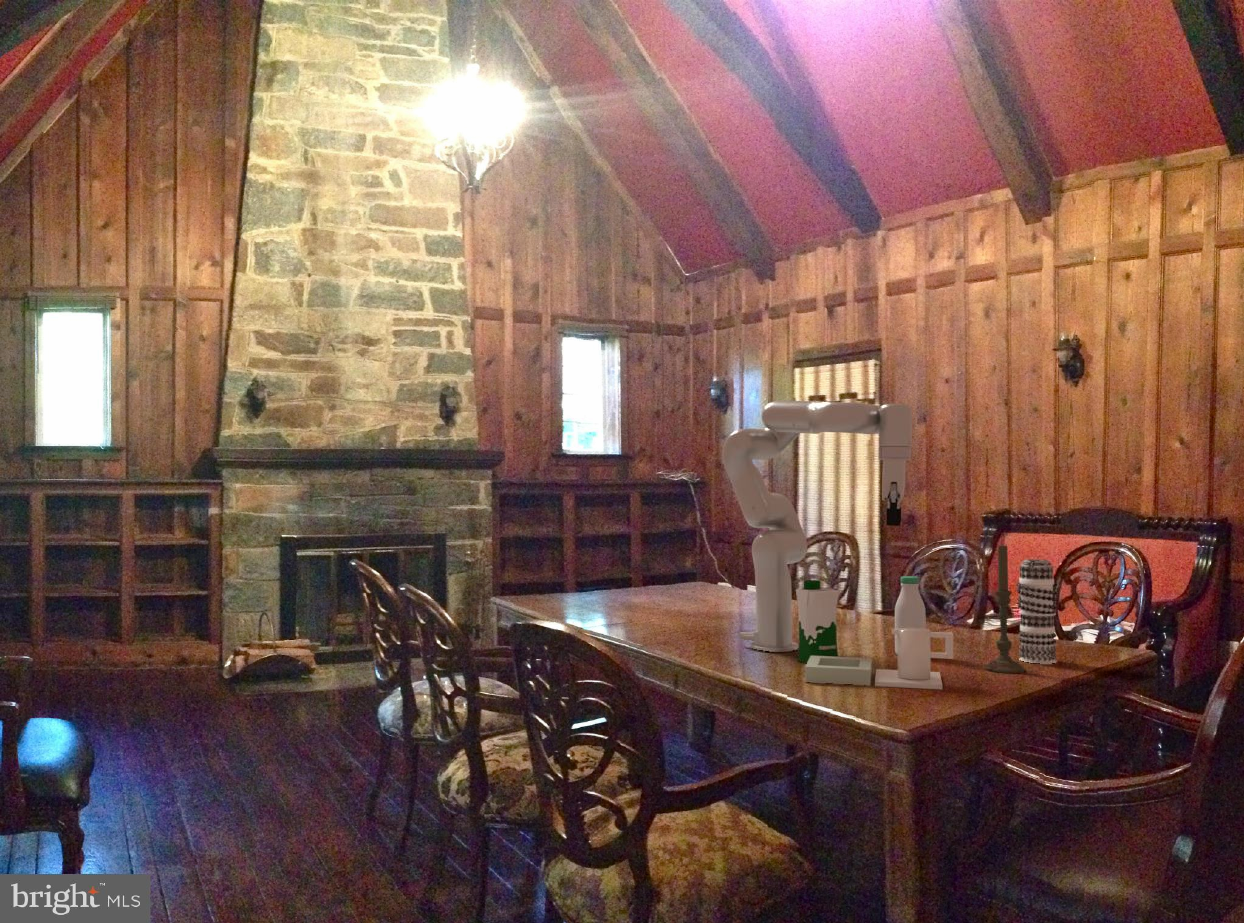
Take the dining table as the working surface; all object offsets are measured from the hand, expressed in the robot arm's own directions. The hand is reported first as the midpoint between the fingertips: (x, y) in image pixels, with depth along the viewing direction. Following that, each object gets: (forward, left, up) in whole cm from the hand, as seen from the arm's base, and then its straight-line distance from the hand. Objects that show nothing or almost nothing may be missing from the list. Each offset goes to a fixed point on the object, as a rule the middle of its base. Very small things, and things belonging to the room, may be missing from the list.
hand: (893, 524), depth 233 cm
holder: (-12, -19, -34) cm, 41 cm away
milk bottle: (+4, +15, -34) cm, 38 cm away
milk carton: (-18, -2, -34) cm, 39 cm away
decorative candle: (+34, +13, -34) cm, 50 cm away
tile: (+3, -19, -34) cm, 39 cm away
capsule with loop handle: (+6, -19, -33) cm, 39 cm away
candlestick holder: (+25, 0, -34) cm, 42 cm away
